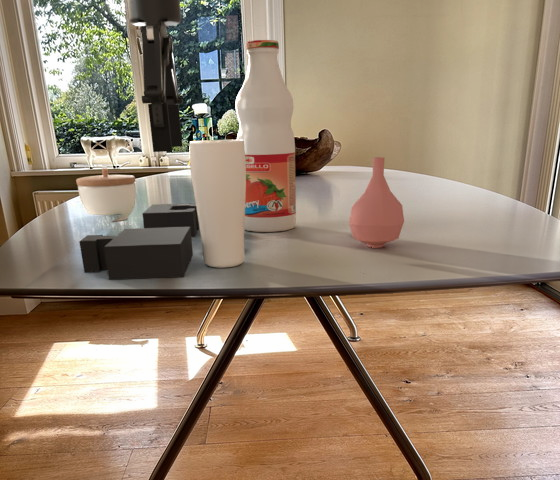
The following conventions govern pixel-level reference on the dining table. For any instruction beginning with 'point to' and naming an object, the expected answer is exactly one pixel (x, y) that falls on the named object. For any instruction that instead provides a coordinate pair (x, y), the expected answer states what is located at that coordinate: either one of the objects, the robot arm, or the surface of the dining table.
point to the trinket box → (108, 194)
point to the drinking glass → (220, 199)
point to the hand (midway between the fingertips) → (169, 149)
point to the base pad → (139, 253)
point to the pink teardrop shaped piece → (376, 211)
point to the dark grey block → (172, 216)
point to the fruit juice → (267, 141)
